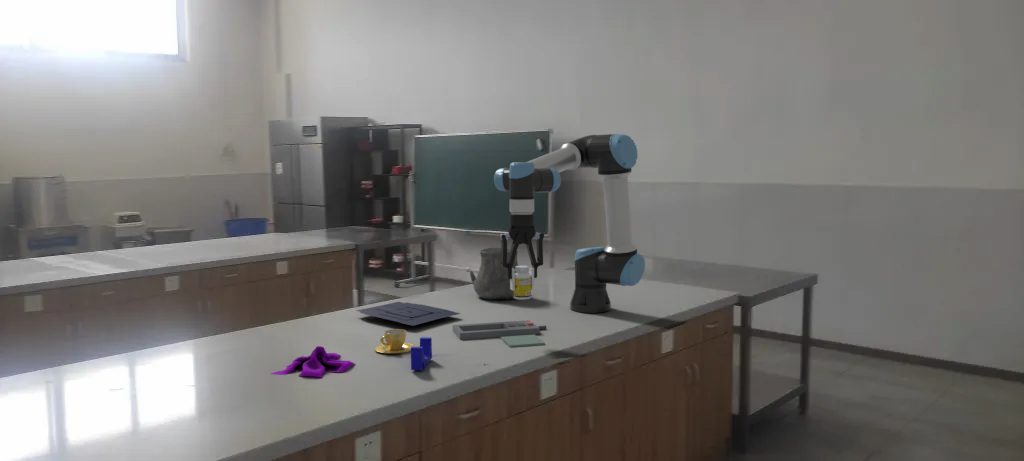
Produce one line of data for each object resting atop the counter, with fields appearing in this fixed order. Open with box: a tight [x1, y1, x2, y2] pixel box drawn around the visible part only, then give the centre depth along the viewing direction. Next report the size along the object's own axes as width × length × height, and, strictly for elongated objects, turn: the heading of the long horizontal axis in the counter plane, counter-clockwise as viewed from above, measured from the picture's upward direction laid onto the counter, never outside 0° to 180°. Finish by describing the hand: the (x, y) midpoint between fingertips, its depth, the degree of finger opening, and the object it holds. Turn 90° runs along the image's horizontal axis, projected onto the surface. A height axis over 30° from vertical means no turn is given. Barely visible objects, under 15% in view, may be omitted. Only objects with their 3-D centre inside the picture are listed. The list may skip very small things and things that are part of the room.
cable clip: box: [410, 336, 433, 371], centre depth 204 cm, size 12×4×6 cm, turn 174°
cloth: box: [270, 345, 356, 378], centre depth 202 cm, size 22×19×6 cm
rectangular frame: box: [452, 319, 547, 340], centre depth 240 cm, size 30×12×3 cm, turn 105°
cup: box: [374, 328, 416, 354], centre depth 220 cm, size 12×12×5 cm
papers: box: [355, 301, 461, 327], centre depth 260 cm, size 24×30×4 cm
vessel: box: [469, 247, 519, 301], centre depth 298 cm, size 22×22×20 cm
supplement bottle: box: [513, 265, 532, 301], centre depth 226 cm, size 5×5×10 cm
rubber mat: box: [500, 334, 546, 348], centre depth 228 cm, size 11×11×1 cm
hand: (522, 289), depth 226 cm, fingers closed on supplement bottle, 5 cm apart
